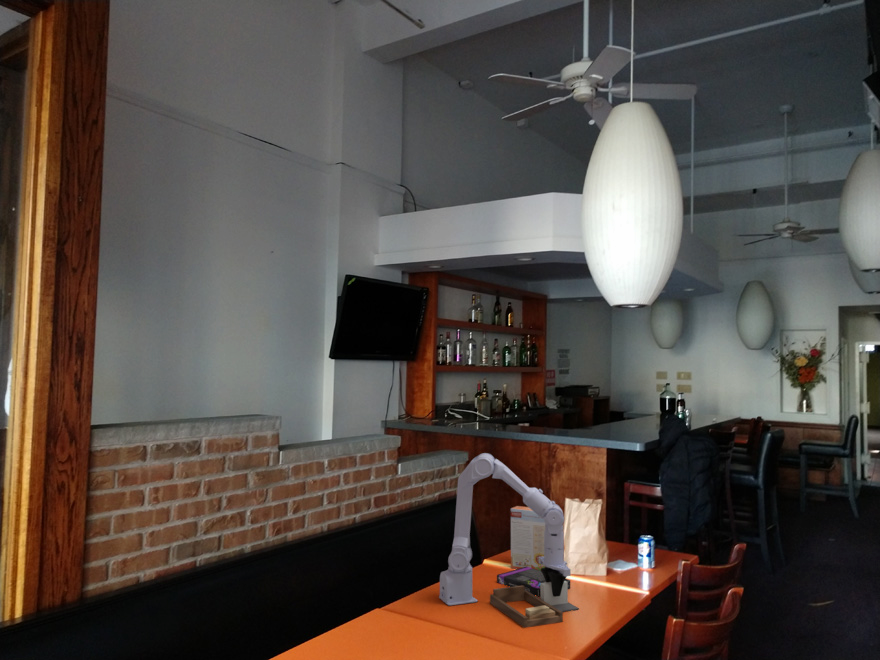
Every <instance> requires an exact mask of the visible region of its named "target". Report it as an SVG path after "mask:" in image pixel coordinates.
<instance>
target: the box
mask: <svg viewBox="0 0 880 660" xmlns="http://www.w3.org/2000/svg"><path fill="white" fill-rule="evenodd" d="M565 581H566V582H568V590H570V589H571V580H570V579H568V578H566V579H565ZM496 582H497V584H500V585H503V584H504V586H506V585H507V586H506V587H509V586H510V587H514V586H522V585H523V586H525V590H527V591H528V592H530V593H532V594H533V595H536V596H537V597H538V596H539V597H538V598H541V591H540V583H546V581H545V578H544V576H543V574H542V572H541V571H540V570H536V569H533V568H530V567H527V566H526V567H523V568H520V569H514V570H510V571H507V572H502V573H498V574H497V575H496Z"/></svg>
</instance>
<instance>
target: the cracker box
mask: <svg viewBox="0 0 880 660" xmlns="http://www.w3.org/2000/svg"><path fill="white" fill-rule="evenodd" d="M544 531H545V522H544V518H543V517H540V516H538V515H537V514H536V513H535V512H534V511H533V510H531V509H530V508H529V507H528V506H523V505H522V506H520V505H516V506H513V507H511V508H510V568H511V569H514V570H516V569H520V568H523V567H526V566H527V567H530V568H533V569H536V570H540V571H541V568H545V566H544V565H543V564H539V557H543V556H544Z"/></svg>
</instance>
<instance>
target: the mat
mask: <svg viewBox="0 0 880 660" xmlns="http://www.w3.org/2000/svg"><path fill="white" fill-rule="evenodd" d="M539 598H540V599H541V597H539ZM551 606H553V607H555V608H556V609H558V610H560V611H561V612H563V613H566V612H565V611H567V612H572V611H571V610H573V611H578V609H579V610H580V608H579V607H578V606H576V605H574V604H572V603H570V602H569V601H568V603H564V604H557V605H551Z"/></svg>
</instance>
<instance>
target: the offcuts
mask: <svg viewBox="0 0 880 660" xmlns="http://www.w3.org/2000/svg"><path fill="white" fill-rule="evenodd" d="M524 612H525V615H524V616H526V617H527V620H530V619H537V618H543V617H550V616H555V611H553V610H551V609H549V607H547V606H545V605H544V606H538V607H535V606H533V607H532V606H531V607H527V608H525V611H524Z"/></svg>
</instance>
